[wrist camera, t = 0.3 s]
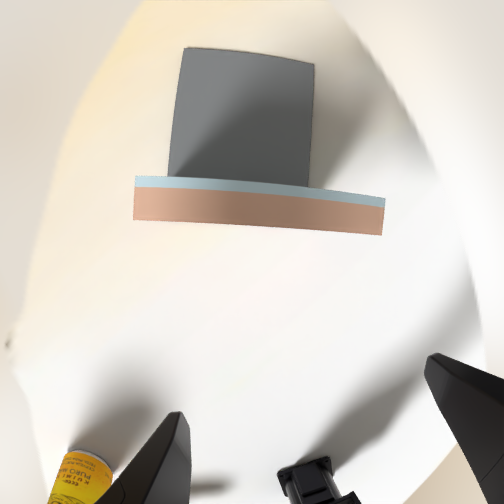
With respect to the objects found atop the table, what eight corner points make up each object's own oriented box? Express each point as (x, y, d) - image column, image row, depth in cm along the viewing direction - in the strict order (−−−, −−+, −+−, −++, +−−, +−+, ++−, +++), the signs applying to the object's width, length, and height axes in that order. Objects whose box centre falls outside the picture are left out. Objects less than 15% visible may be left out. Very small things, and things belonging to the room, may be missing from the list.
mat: (302, 226, 22) (304, 227, 22) (165, 218, 20) (164, 218, 20) (312, 66, 20) (313, 64, 19) (184, 50, 18) (183, 48, 18)
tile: (305, 216, 22) (381, 235, 12) (165, 207, 20) (133, 219, 10) (307, 195, 21) (385, 198, 12) (167, 184, 20) (135, 175, 10)
